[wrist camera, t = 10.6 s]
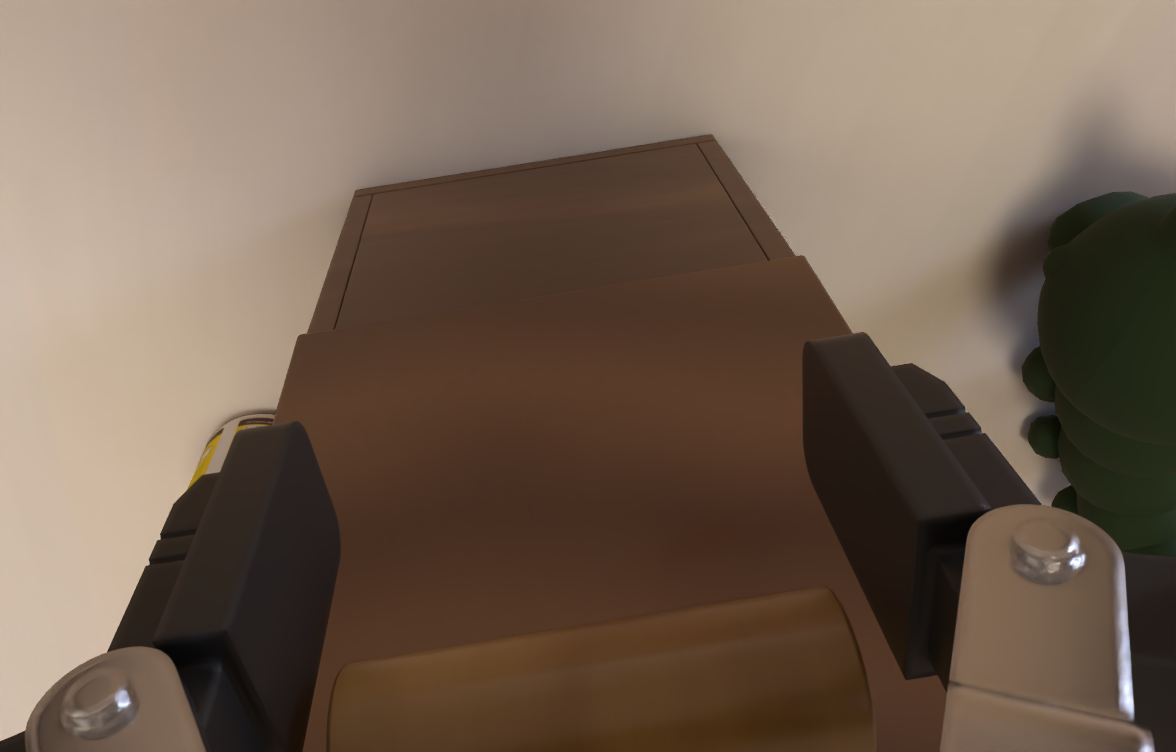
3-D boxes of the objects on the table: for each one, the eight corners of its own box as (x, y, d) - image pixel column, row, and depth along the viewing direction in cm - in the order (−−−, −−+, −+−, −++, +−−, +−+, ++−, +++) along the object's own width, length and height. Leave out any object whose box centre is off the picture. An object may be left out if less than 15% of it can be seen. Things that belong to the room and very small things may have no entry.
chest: (732, 483, 46) (802, 674, 36) (448, 529, 45) (438, 734, 35) (712, 133, 36) (799, 259, 26) (354, 189, 36) (304, 338, 26)
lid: (1261, 1038, 11) (1461, 769, 8) (67, 1239, 11) (-240, 1052, 7) (803, 279, 26) (807, 80, 23) (306, 358, 26) (237, 169, 23)
